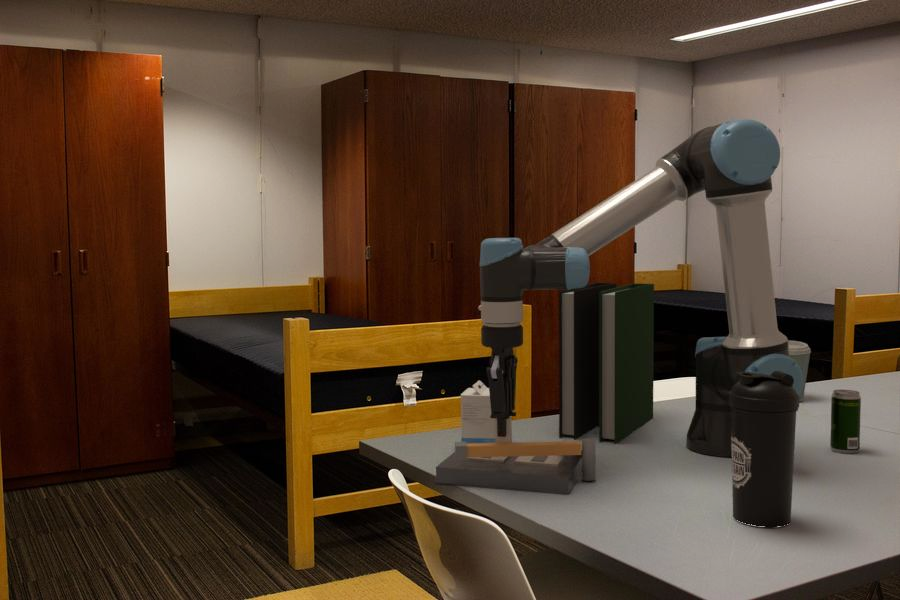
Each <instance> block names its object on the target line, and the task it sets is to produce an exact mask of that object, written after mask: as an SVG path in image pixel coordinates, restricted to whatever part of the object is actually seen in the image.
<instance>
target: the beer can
mask: <svg viewBox="0 0 900 600" xmlns="http://www.w3.org/2000/svg"><path fill="white" fill-rule="evenodd" d="M860 393H861V392H860V391H857V390H853V389H833V390H832V395H831V400H830V401H831V406H830V443H829V444H830V449H831V450H832V451H833V452H834V453H838V454H847V455H852V454H857V453H859V451H860V449H861V447H860V444H861V442H860V441H861V438H860V437H861V411H862V409H861V407H862V406H861V405H862V404H861V403H862V397H861V395H860Z"/></svg>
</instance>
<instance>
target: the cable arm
mask: <svg viewBox="0 0 900 600" xmlns="http://www.w3.org/2000/svg"><path fill="white" fill-rule="evenodd" d="M581 451H582V473H581V480H582V481H587V482H591V481H595V480H596V439H595V438H593V437H584V438H582V439H581V441H580V440H579V441H577V440H574V441H573V440H572V441H570V440H568V441H533V442H532V441H531V442H529V441H527V442H523V441H522V442H519V441H517V442H512V443H470V444H466V442H462V441H454V452H455V458H456V460H463V459H467V457H509V456H556V455H581Z"/></svg>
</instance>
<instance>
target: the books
mask: <svg viewBox="0 0 900 600" xmlns="http://www.w3.org/2000/svg"><path fill="white" fill-rule="evenodd" d="M617 285H618V284H617V283H616V282H593V283H587V284H586V286H585V287H583V288H576V289H570V290H567V289H560V290H558V412H559V413H558V415H559V416H558V424H559V425H558V428H559V429H558V431H559V432H558V433H559V434H558V435H559V436H558V438H559V439H562V438H564V436H566V435H570V436H573V440H574V441H577V439H579V438H580V437H582V436H584V435H585V434H587V433H589V432H591V431H592V430H594V429H596V428H597V427H598V428H599V429H598V442H599V443H602V442H604V441H605V440H606V439H608V440H614V445H617V444H618V443H620V442H621V441H623V440H624V439H626V438H627V437H629V436H630V435H631V434H633V433H634V432H636V431H637V430H638V429H640V428H642V427H644V425H645V424H648V423H649V422H650V421H652V420H653V419H654V364H655V363H654V361H655V360H654V352H655V351H654V350H655V349H654V347H655V345H654V344H655V343H654V342H655V340H654V339H655V337H654V336H655V335H654V333H655V326H654V325H655V320H654V319H655V284H654V283H635V282H634V283H628V284H625V285H621V286H617ZM625 437H626V438H625Z"/></svg>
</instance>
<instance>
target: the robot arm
mask: <svg viewBox="0 0 900 600" xmlns="http://www.w3.org/2000/svg"><path fill="white" fill-rule="evenodd" d="M780 160H781V146H780V144H779V140H778V139H777V137H776V134H775V133H774V131H772V129H771V128H770V127H768V126H767V125H765V124H764V123H762V122H760V121H758V120H755V119H750V118H749V119H747V118H746V119H745V118H743V119H732V120H728V121H725V122H722V123H719V124H715V125H712V126H709V127H708V126H707V127H705V128H704V127H703V128H702V129H700V130H698V131H696V132H695V133H694V134H692V135H690V136H689V137H688V138H687V139H685V140H684V141H682V142H681V143H680V144H678V145H677V146H676V147H674V148H673V149H672V150H670V151H669V152H668V153H665V155H663V156H662V157H660V158H659V159H657V160H656V162H655V166H654V168H653V169H650V170H649V171H648V172H646V173H644V174H643V175H642V176H640V177H638V178H637V179H635V180H634V181H632V182H630V183H629V184H628V185H626V186H624V187H623V188H621V189H619V190H618V191H617V192H615V193H614V194H612V195H610V196H609V197H607V198H606V199H604V200H603V201H601V202H600V203H598V204H596V205H595V206H594V207H592V208H590V209H589V210H587V211H586V212H584V213H583V214H581V215H579V216H578V217H576V218H574V220H572V221H570V222H568V223H567V224H566V225H564V226H563V227H561V228H559V229H558V230H556V231H554V232H553V233H551V235H549V236H547V237H546V238H544V239H541V241H539V242H538V243H536V244H532V245H529V246H527V247H524V245H523V242H522V239H521V238H519V237H494V238H493V237H492V238H491V237H490V238H485V239H483V240H482V242H480V251H479V252H480V257H479V282H480V283H479V285H480V305H478V307H477V308H478V310H479V311H481V312H480V319H481V322H482V323H483V325H482V326H481V327H480V338H481V340H480V341H481V346H483V347H484V348H490V349H491V356H489V358H488V365H489V366H487V367H486V375H487V380H488V388H489V392H490V404H491V416H490V418H494V419H495V440H496V443H513V430H512V429H513V427H512V426H513V425H512V422H513V421H512V417H516V416H517V412H516V411H515V406H516V405H515V403H516V383H517V382H516V380H517V367H518V362H519V361H518V357H516V355H514V348H520V347H521V346H522V345H523V344H524V327H523V325H522V324H521V323H523V321H524V305H523V303H524V302H523V298H524V297H523V292H524V291H532V290H533V291H538V290H541V291H542V290H543V291H544V290H546V291H547V290H551V291H552V290H565V289H567V290H570V289H576V288H583V287H585V286H586V285H588V284H589V283H588V282H589V279H590V272H591V265H590V259H589V256H591V255H593V254H594V253H596V252H598V251H599V250H600V249H601V248H604V247H605V246H607V245H608V244H610V243H612V242H613V241H614V240H615V239H617V238H619V237H620V236H622V235H624V234H625V233H626V232H628V231H630V230H632V229H633V228H634V227H636V226H637V225H639V224H641V223H642V222H644V221H645V220H647V219H648V218H650V217H652V216H654V215H655V214H656V213H658V212H659V211H661V210H662V209H664V208H666V207H667V206H668V205H670V204H672V203H673V202H675V201H681V202H684V201H686V200H687V199H689V198H690V197H692V196H694V195H696V194H699V193H700V192H703V191H705V192H704V193H705V200H706V201H707V202H709V203H710V204H712V206H713V207H714V208H715V212H716V220H717V221H716V222H717V230H718V231H717V233H718V239H719V249H720V258H721V259H720V260H721V270H722V277H723V278H722V279H723V284H724V285H723V286H724V295H725V303H726V304H725V306H726V313H727V322H728V331H729V333H728V335H727V336H714V337H713V336H711V337H707V336H706V337H701V338H699V339H698V340H697V342H696V346H695V353H694V357H695V408H694V409H695V410H694V412H693V416H692V418H691V421H690V424H689V426H688V430H687V432H686V438H685V439H686V440H685V443H686V444H685V445H686V447H687V448H688V449H689V450H691V451H693V452H696V453H699V454H703V455H709V456H717V457H727V458H729V457H731V458H732V452H731V436H732V432H731V407H730V406H729V392H730V391H731V390H732V388H733V386H734V385H735V384H736V383H737V382H739V381H740V377H738V376H736V373H737V372H752V373H759V374H765V375H771V374H772V373H773V372H774V371H781V372H784V373H787V374H789V375H791V376H792V377H793V379H794V383H793V388H794V389H795V390H796V393H797V394H798V395H800V393H801V391H802V387H803V375H802V371H801V369H800V367H799V365H798V364H797V363H796V362H795V361H794V360H793V359H792V358H791V357H789V348H788V341H789V339H788V337H787V335H785V334H783V333H782V332H781V331H779V328H778V320H777V310H776V301H775V289H774V282H773V272H772V263H771V261H772V259H771V252H770V241H769V231H768V223H767V211H766V206H765V205H766V203H765V202H766V199H767V198H768V197H769V196H770V195H771V193H772V192H773V183H772V176H773V175H774V173H775V171H776V169H777V168H778V167H779V164H780ZM513 411H515V412H513Z"/></svg>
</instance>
